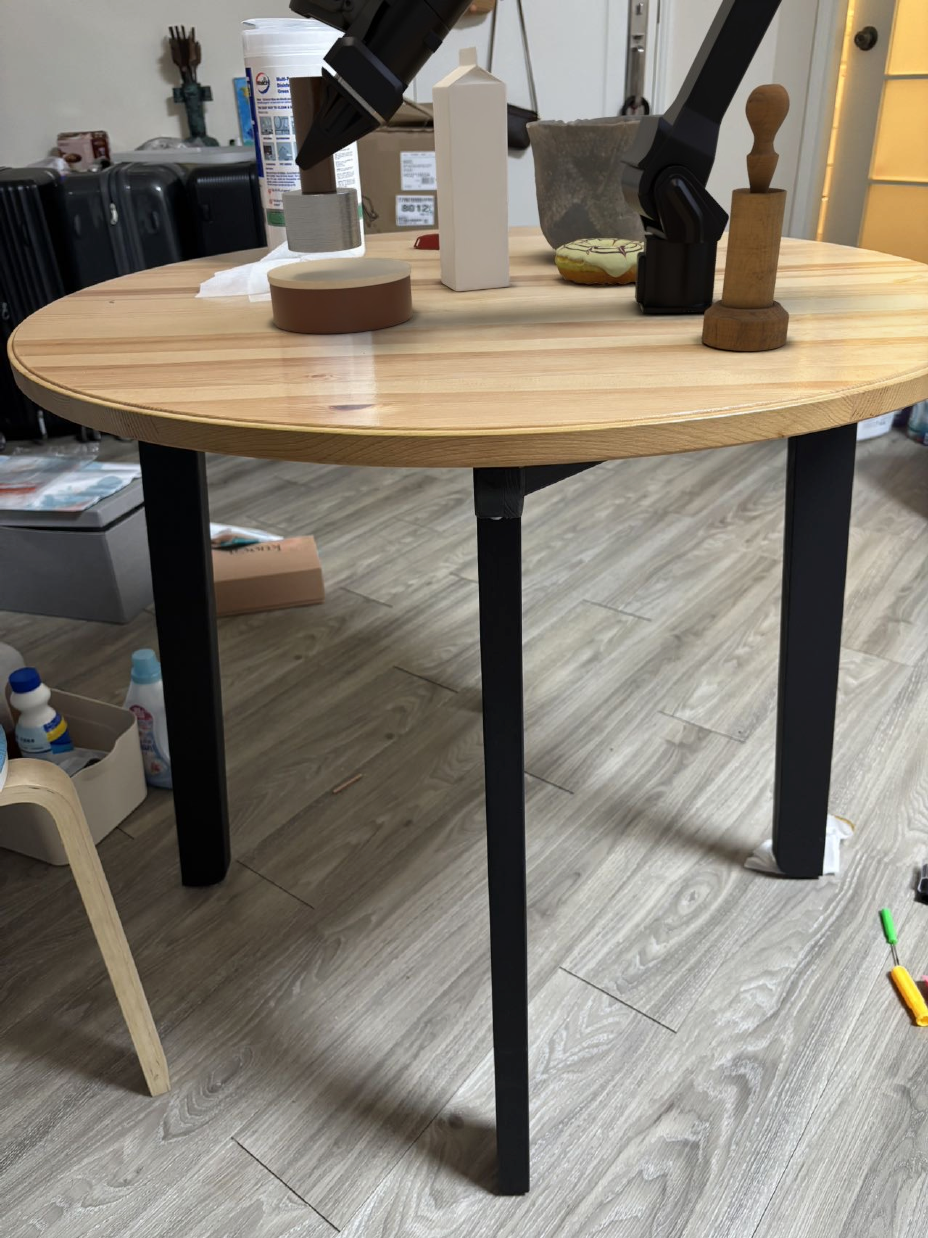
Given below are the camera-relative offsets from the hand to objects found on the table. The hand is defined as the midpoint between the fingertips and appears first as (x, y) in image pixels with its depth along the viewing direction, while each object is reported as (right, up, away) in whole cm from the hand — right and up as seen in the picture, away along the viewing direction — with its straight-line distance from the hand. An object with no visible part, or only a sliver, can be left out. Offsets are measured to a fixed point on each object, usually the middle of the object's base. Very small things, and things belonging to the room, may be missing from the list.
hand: (300, 165), depth 81 cm
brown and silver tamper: (+2, -6, +3) cm, 7 cm away
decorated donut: (+29, -2, +23) cm, 37 cm away
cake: (+2, -10, +10) cm, 14 cm away
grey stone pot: (+31, +6, +36) cm, 48 cm away
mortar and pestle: (+36, -16, -4) cm, 40 cm away
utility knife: (+13, +11, +47) cm, 50 cm away
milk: (+15, -2, +23) cm, 27 cm away
